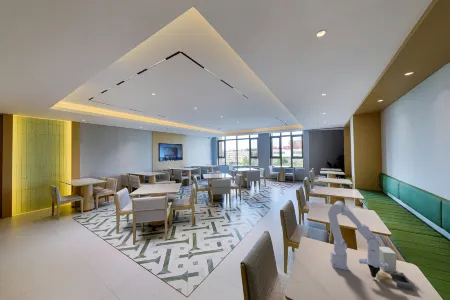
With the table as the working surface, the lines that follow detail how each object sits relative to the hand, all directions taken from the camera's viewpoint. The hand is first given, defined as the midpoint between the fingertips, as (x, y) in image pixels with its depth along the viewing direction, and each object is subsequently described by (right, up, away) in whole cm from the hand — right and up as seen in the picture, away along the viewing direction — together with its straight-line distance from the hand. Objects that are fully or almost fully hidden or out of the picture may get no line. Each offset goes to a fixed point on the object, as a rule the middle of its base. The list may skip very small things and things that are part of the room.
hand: (373, 276), depth 110 cm
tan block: (+5, -2, -2) cm, 6 cm away
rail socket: (+13, -1, -4) cm, 14 cm away
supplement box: (+16, -1, +9) cm, 19 cm away
